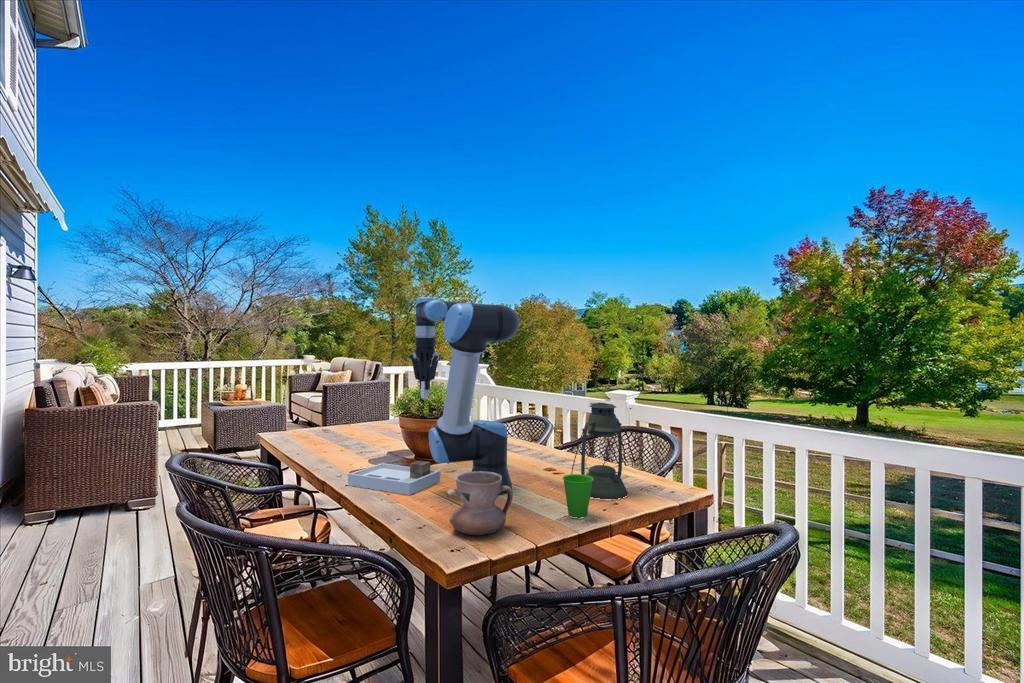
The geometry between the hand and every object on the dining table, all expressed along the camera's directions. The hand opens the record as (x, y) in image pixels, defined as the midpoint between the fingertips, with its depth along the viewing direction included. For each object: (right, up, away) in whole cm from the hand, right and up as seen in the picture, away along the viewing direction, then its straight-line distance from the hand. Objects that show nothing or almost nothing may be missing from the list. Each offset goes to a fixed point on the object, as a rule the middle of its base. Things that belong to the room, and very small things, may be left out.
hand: (424, 398), depth 194 cm
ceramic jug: (+26, -29, -61) cm, 72 cm away
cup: (+53, -29, -49) cm, 78 cm away
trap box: (-7, -28, -18) cm, 34 cm away
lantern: (+64, -29, -26) cm, 75 cm away
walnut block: (+2, -26, -18) cm, 32 cm away
